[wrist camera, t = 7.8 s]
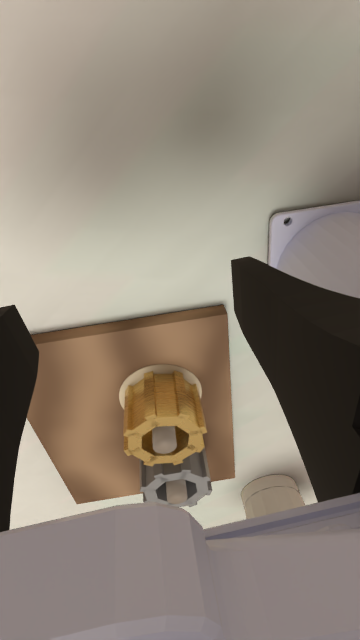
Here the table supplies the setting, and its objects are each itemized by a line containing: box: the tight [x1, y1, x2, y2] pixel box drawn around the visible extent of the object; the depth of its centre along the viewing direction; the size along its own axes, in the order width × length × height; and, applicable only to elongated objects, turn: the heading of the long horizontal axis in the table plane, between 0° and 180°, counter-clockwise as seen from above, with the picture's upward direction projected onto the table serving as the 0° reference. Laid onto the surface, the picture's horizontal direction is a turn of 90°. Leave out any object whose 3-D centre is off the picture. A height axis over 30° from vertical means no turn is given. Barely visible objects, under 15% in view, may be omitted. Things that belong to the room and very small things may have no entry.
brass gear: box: [123, 371, 207, 466], centre depth 25 cm, size 6×6×4 cm
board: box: [27, 305, 235, 504], centre depth 27 cm, size 16×20×6 cm
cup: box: [241, 475, 306, 519], centre depth 34 cm, size 8×8×12 cm
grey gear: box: [140, 447, 212, 507], centre depth 29 cm, size 6×6×4 cm
